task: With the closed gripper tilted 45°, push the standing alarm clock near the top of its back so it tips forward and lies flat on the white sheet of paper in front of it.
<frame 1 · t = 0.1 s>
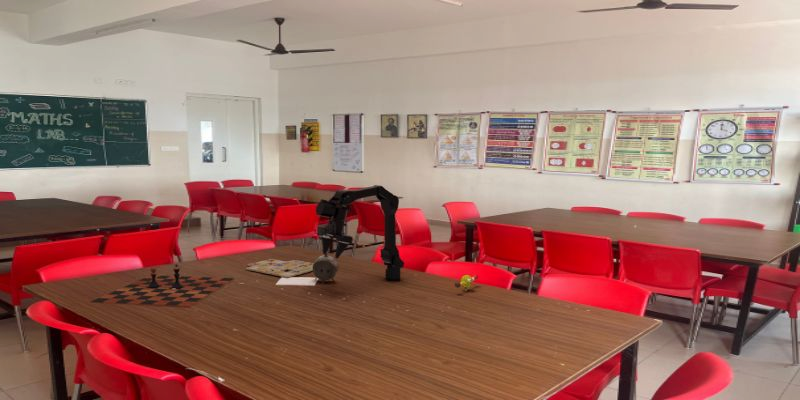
hand: (330, 256, 212), 15 cm above the table, tool pointing down, fingers open, 9 cm apart
chessboard: (168, 291, 213), on the table
white sheet of paper: (297, 281, 229), on the table
toy figure: (467, 291, 220), on the table
alarm clock: (324, 282, 229), on the table, touching white sheet of paper
alphabet tiles: (283, 268, 253), on the table, touching white sheet of paper
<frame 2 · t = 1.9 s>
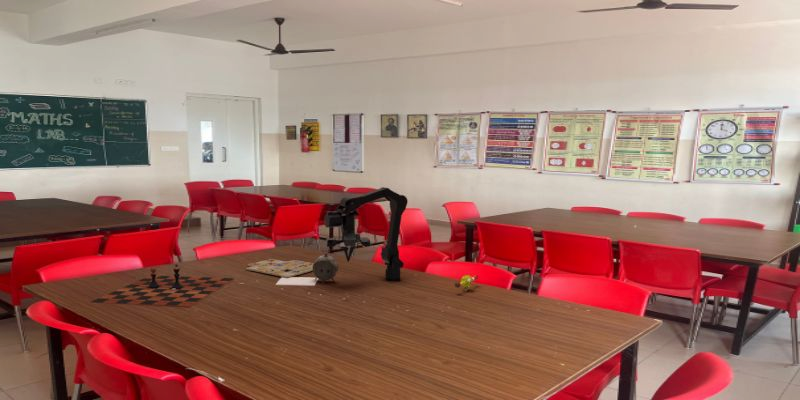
hand: (348, 261, 223), 11 cm above the table, tool pointing down, fingers closed
nothing on the table moved.
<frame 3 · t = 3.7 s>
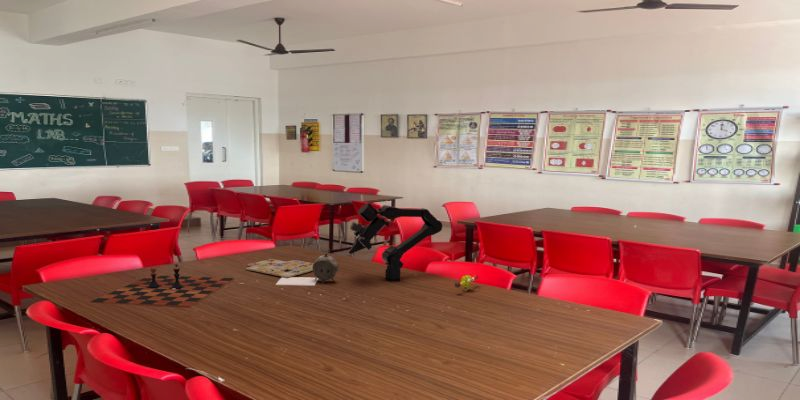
hand: (349, 253, 229), 13 cm above the table, tool tilted 45°, fingers closed
nothing on the table moved.
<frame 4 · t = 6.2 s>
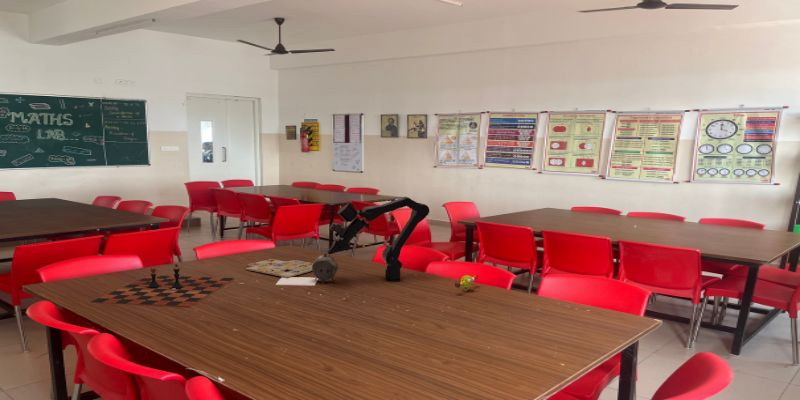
hand: (328, 253, 227), 13 cm above the table, tool tilted 45°, fingers closed
alarm clock: (324, 282, 229), on the table, touching gripper, white sheet of paper
everything else where it was.
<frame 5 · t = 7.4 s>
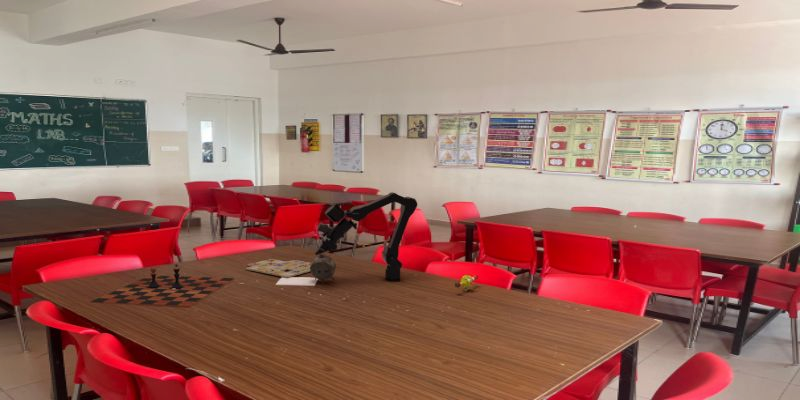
hand: (315, 254, 225), 13 cm above the table, tool tilted 45°, fingers closed
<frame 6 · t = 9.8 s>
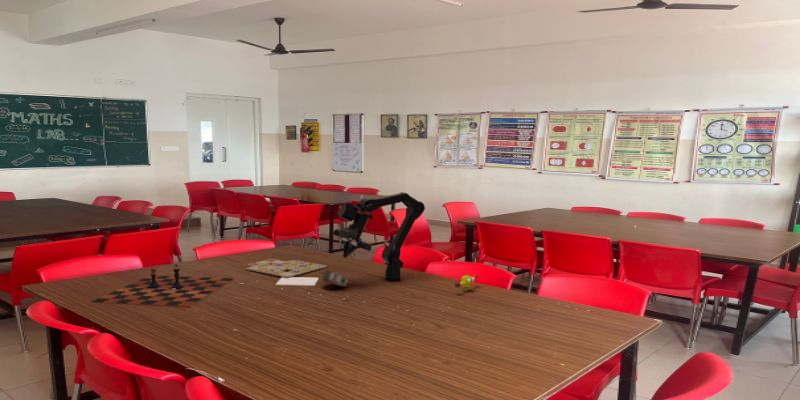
hand: (344, 257, 224), 12 cm above the table, tool tilted 25°, fingers closed
alarm clock: (326, 276, 226), point 3 cm above the table
everything else where it was.
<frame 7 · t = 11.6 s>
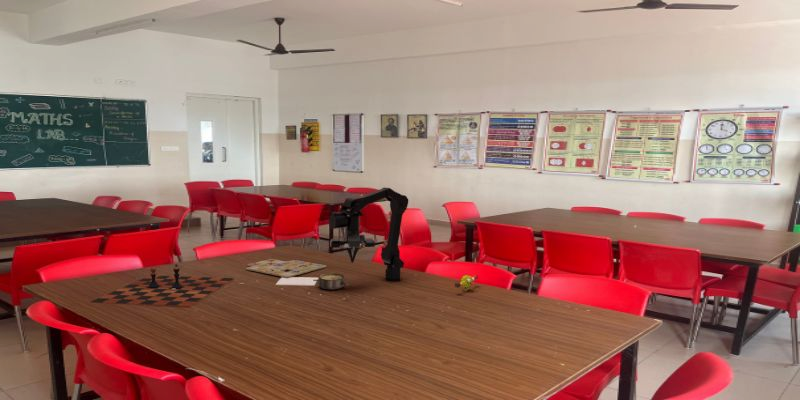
hand: (352, 262, 221), 11 cm above the table, tool pointing down, fingers closed
alarm clock: (319, 280, 224), point 2 cm above the table
everything else where it was.
at the end: alarm clock tilted 87°; alarm clock inside the target area (5.1 cm from its centre), point 2.2 cm above the table; the gripper is holding nothing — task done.
